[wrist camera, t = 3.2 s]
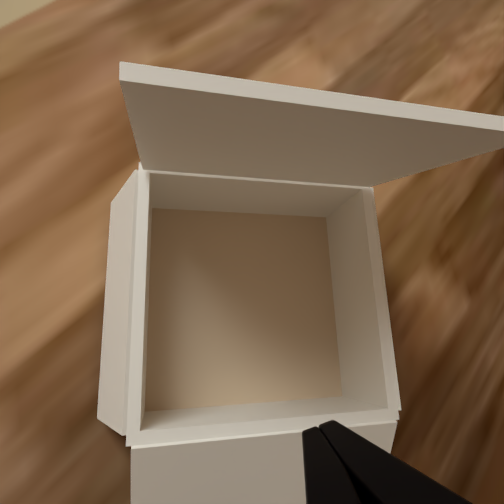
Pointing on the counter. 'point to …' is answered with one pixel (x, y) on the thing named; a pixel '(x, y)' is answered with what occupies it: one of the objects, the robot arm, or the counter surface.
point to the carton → (241, 332)
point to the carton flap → (292, 130)
